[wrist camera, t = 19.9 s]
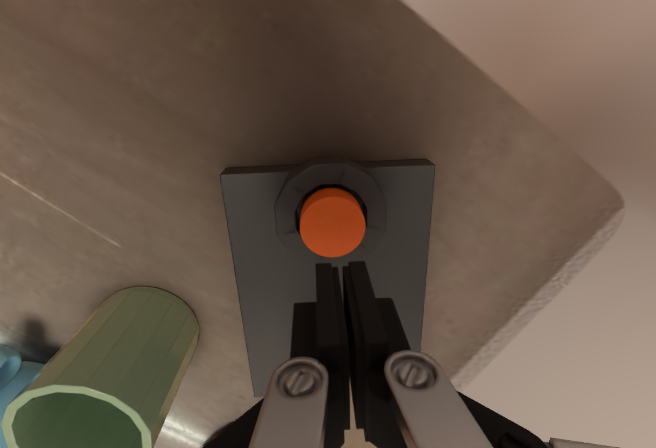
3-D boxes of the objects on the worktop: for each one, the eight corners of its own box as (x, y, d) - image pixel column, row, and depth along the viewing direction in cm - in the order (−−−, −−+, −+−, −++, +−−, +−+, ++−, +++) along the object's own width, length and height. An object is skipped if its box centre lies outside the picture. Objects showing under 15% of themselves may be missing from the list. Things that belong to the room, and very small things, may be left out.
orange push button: (298, 188, 20) (297, 198, 18) (361, 185, 20) (365, 194, 19) (302, 245, 21) (301, 259, 20) (361, 242, 22) (365, 255, 20)
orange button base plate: (223, 156, 22) (209, 169, 19) (427, 146, 23) (447, 158, 19) (257, 380, 29) (250, 417, 26) (412, 370, 30) (424, 406, 27)
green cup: (116, 270, 25) (19, 365, 17) (214, 310, 27) (171, 416, 18) (86, 343, 27) (-13, 460, 19) (178, 377, 29) (125, 497, 21)
